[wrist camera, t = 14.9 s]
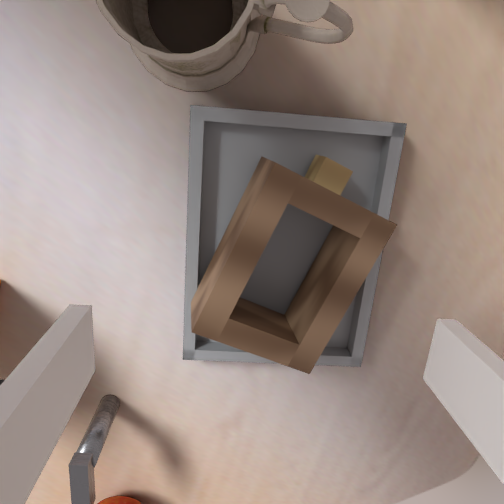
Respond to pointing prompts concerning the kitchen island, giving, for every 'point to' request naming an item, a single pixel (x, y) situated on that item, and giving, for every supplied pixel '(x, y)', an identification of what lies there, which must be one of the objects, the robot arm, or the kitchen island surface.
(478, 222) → the kitchen island surface
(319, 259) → the brown wooden frame
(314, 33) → the mug
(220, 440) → the kitchen island surface
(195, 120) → the tray
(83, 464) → the grey metal l-shaped piece
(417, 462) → the kitchen island surface
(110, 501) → the fruit
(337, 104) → the kitchen island surface
